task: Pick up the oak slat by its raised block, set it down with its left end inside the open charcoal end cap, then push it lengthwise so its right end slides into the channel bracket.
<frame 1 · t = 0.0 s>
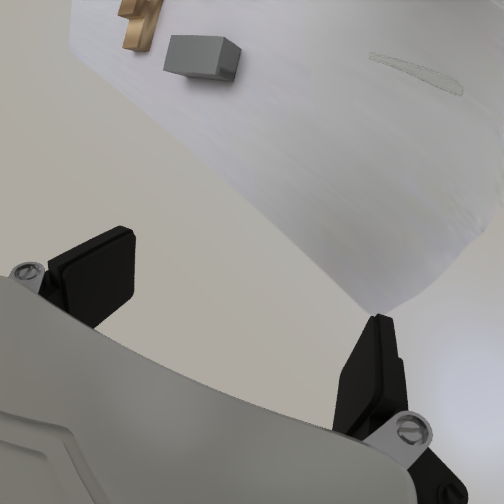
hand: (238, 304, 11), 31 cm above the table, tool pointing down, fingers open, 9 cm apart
butter knife: (366, 57, 31), on the table
slat: (153, 10, 36), on the table
channel bracket: (212, 62, 37), on the table
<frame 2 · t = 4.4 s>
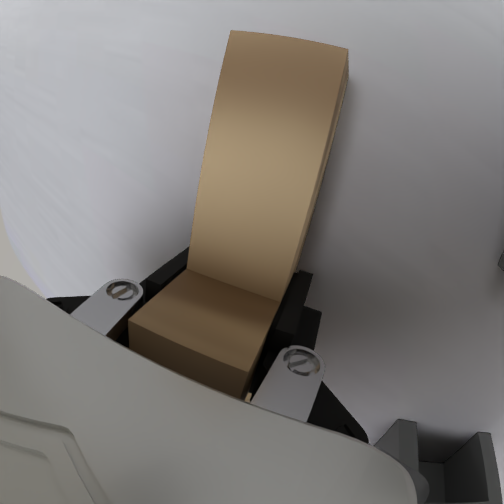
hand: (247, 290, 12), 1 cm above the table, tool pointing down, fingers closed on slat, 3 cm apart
slat: (260, 256, 12), on the table, touching gripper
channel bracket: (426, 450, 14), on the table
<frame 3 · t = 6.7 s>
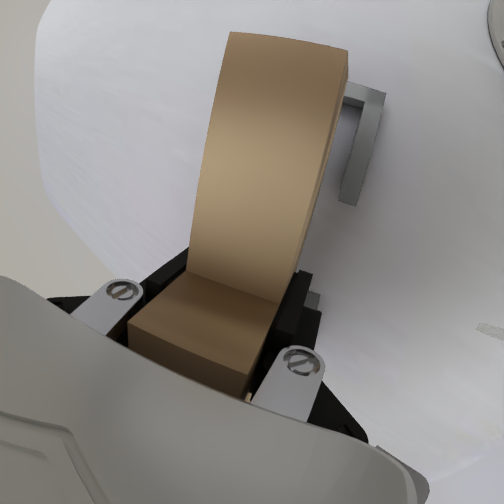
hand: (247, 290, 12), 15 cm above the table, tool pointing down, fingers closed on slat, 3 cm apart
butter knife: (472, 325, 24), on the table
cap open: (322, 132, 22), on the table
slat: (260, 257, 12), point 14 cm above the table, touching gripper
when the fingers open (2 cm above the table, at t = 9.0 s): slat drops 2 cm, on the table.
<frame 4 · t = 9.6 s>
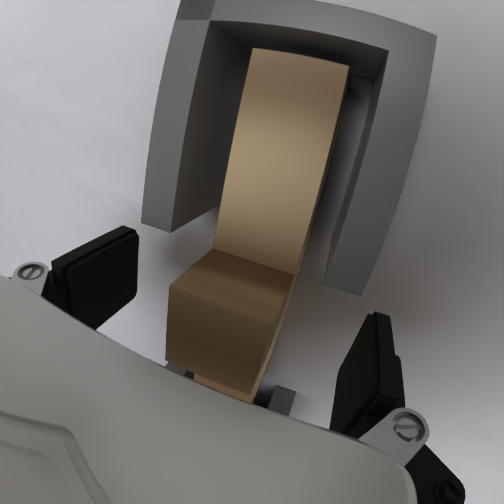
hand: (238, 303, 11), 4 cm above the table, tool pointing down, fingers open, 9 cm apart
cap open: (298, 127, 12), on the table
slat: (273, 241, 14), on the table
channel bracket: (229, 395, 18), on the table
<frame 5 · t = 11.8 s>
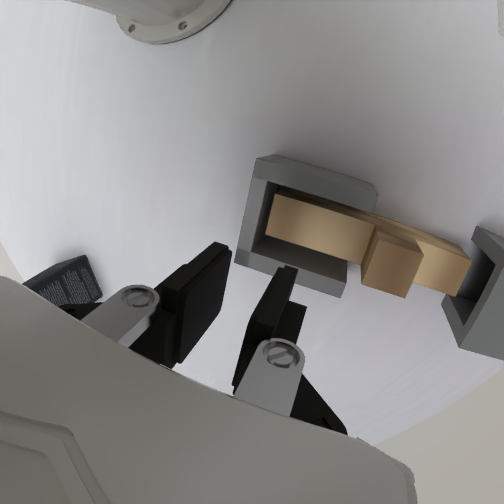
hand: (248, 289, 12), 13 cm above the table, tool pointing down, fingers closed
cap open: (308, 213, 24), on the table
slat: (371, 232, 23), on the table
box: (78, 278, 35), on the table
channel bracket: (481, 275, 21), on the table
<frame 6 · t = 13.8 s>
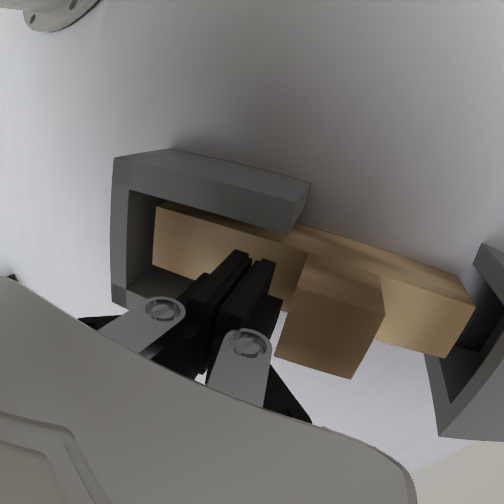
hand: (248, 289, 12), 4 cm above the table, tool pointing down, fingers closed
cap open: (220, 230, 17), on the table
slat: (318, 256, 16), on the table, touching gripper
channel bracket: (485, 314, 14), on the table
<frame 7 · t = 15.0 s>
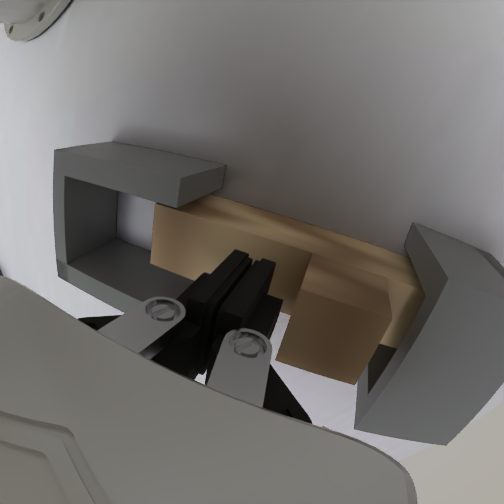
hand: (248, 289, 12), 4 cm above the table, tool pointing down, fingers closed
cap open: (152, 213, 17), on the table
slat: (321, 257, 15), on the table, touching channel bracket, gripper
channel bracket: (426, 302, 14), on the table
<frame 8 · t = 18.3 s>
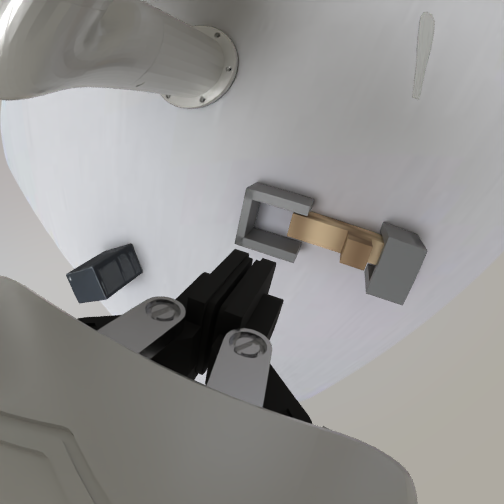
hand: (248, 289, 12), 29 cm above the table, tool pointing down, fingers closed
butter knife: (416, 102, 31), on the table
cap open: (277, 216, 41), on the table
slat: (348, 234, 40), on the table
box: (123, 261, 53), on the table
channel bracket: (390, 253, 38), on the table
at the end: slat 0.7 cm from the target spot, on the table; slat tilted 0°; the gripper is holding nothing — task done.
